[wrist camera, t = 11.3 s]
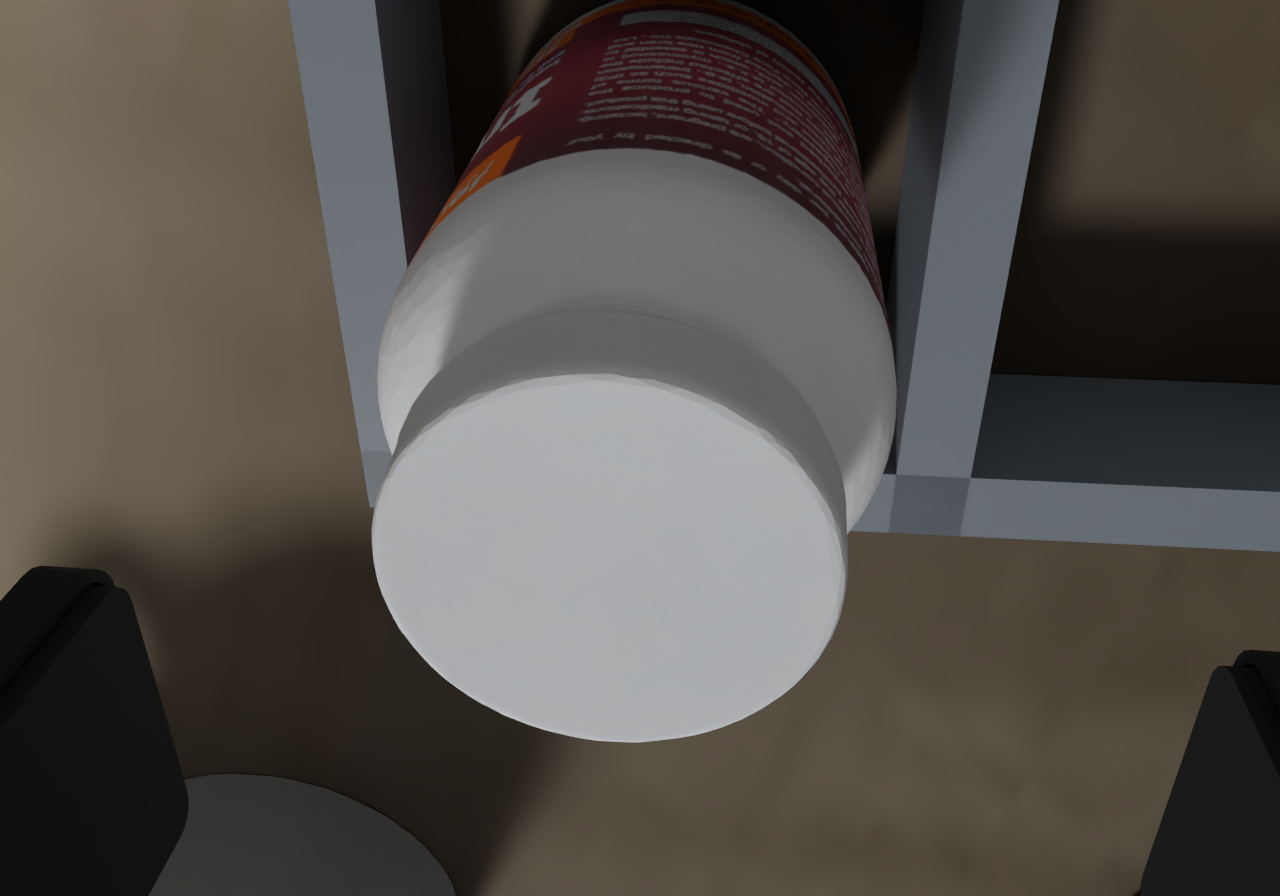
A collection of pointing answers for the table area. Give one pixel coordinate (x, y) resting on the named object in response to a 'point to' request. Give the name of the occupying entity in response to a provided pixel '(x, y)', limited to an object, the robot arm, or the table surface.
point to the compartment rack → (916, 304)
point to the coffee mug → (292, 844)
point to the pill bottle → (638, 382)
